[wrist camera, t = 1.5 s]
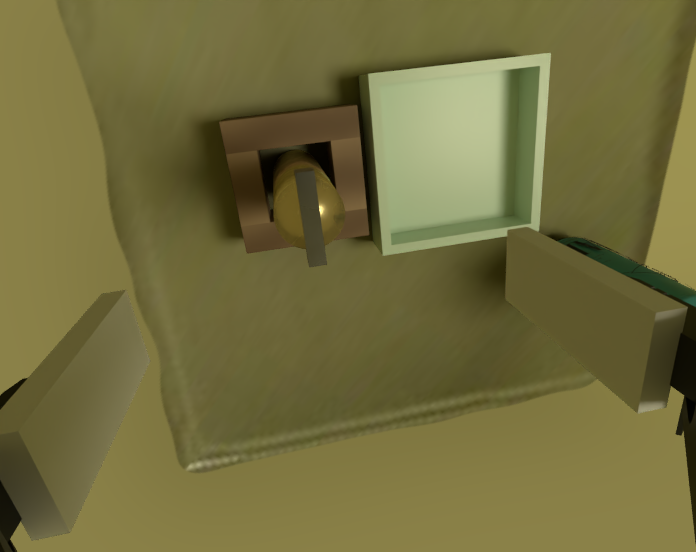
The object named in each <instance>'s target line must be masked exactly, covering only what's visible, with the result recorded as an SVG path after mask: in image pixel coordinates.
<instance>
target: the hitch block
mask: <svg viewBox="0 0 696 552" xmlns="http://www.w3.org/2000/svg"><path fill="white" fill-rule="evenodd" d="M219 124H220V129H221V134H222V138H223V143H224V148H225V152H226V157H227V162H228V167H229V171H230V176H231V181H232V186H233V190H234V195H235V200H236V205H237V209H238V214H239V219H240V223H241V228H242V233H243V238H244V242H245V247H246V252H247V253H254V252H261V251H267V250H274V249H280V248H287V247H293V245H291V244H290V243H288V242H287V241H286V240H284V239H283V238H282V236H281V235H280V234H279V232H278V230H277V228H276V226H275V222H274V210H270V205H269V200H268V194H267V189H266V183H265V178H264V172H263V167H262V161H261V156H260V150H264V149H272V148H280V147H287V146H295V145H303V144H310V143H318V142H326V149H327V157H328V165H329V173H330V181H331V183H332V185H333V186H334V187H335V189H336V190H337V192H338V193H339V195H340V197H341V198H342V200H343V203H344V207H345V221H344V225H343V228H342V230H341V232H340V233H339V234H338V236H337V237H336V238H335V239H334V240H339V239H346V238H352V237H359V236H365V235H369V227H368V216H367V205H366V195H365V184H364V173H363V162H362V151H361V141H360V130H359V119H358V108H357V105H351V104H346V105H338V106H330V107H321V108H313V109H305V110H297V111H288V112H280V113H272V114H264V115H255V116H247V117H239V118H231V119H224V120H222V121H220V122H219Z"/></svg>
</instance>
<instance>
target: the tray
mask: <svg viewBox="0 0 696 552" xmlns="http://www.w3.org/2000/svg"><path fill="white" fill-rule="evenodd" d="M550 59H551V53H545V54H537V55H528V56H519V57H510V58H502V59H493V60H484V61H475V62H467V63H458V64H449V65H441V66H432V67H423V68H414V69H406V70H397V71H388V72H379V73H371V74H365V75H361V76H358V78H359V89H360V100H361V112H362V123H363V134H364V145H365V156H366V168H367V179H368V190H369V201H370V212H371V223H372V235H373V242H374V243H375V245H376V246H377V248H378V249H379V251H380V252H381V254H382V255H383V256H384V255H391V254H397V253H403V252H410V251H416V250H422V249H429V248H435V247H441V246H448V245H454V244H460V243H467V242H473V241H479V240H486V239H492V238H498V237H505V236H507V230H509V229H516V228H522V227H529V228H531V229H533V230H535V231H539V223H540V208H541V193H542V178H543V163H544V148H545V133H546V118H547V103H548V88H549V74H550Z"/></svg>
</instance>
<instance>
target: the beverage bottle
mask: <svg viewBox="0 0 696 552" xmlns="http://www.w3.org/2000/svg"><path fill="white" fill-rule="evenodd" d="M589 241H590V240H588V241H587V240H585V238H584V239H583V238H573V237H572V238H565V239H561V240H559V241H557V242H559V243H561V244H563V245H565V246H567V247H569V248H571V249H573V250H575V251H577V252H579V253H581V254H583V255H585V256H587V257H589V258H591V259H593V260H595V261H597V262H599V263H601V264H603V265H605V266H607V267H609V268H611V269H613V270H615V271H617V272H619V273H621V274H623V275H626V276H629V277H633V278H637V279H640V280H642V281H644V282H646V283H648V284H650V285H652V286H654V287H655V289H656V288H658V289H660V290H662V291H664V292H666V293H667V295H672V296H674V297H676V298H679V299H681V300H683V301H685V302H687V303H689V304H691V305H693V306H695V307H696V291H695V290H693V289H690V288H688V287H686V286H684V285H682V284H680V283H678V281H677V280H676V279H675V280H676V281H677V282H676V281H675V280H672V279H670V278H668V277H665V276H663V275H662V274H661V273H660V274H659V273H657V272H654V271H652V270H650V269H648V268H647V266H646V267H644V266H642V265H644V264H642V265H639V264H638V263H635V262H636V261H631V260H629V259H626V258H624V257H622V256H620V255H618V254H616V253H618V252H616V251H614V252H616V253H614V252H611V251H610V250H611V249H610V250H607V249H605V248H607V247H605V246H603V245H601V246H603V247H605V248H602V247H600V246H599V245H600V244H599V245H596V244H594V243H595V242H594V241H591V242H589ZM592 242H594V243H592ZM597 244H598V243H597ZM608 249H609V248H608ZM612 251H613V250H612ZM619 254H620V253H619ZM626 257H627V256H626ZM668 276H669V275H668Z"/></svg>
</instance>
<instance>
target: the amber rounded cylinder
mask: <svg viewBox="0 0 696 552" xmlns="http://www.w3.org/2000/svg"><path fill="white" fill-rule="evenodd" d="M273 205H274V222H275V226H276V228H277V230H278V232H279V234H280V235H281V236H282V238H283V239H284V240H286V241H287V242H288V243H290V244H291V245H293V246H295V247H298V248H302V249H306V252H307V259H308V264H309V267H314V266H320V265H327V261H326V253H325V245H327V244H329V243H330V242H332V241H333V240H334V239H335V238H336V237H337V236H338V234H339V233H340V232H341V230H342V228H343V225H344V221H345V207H344V203H343V200H342V198H341V197H340V195H339V193H338V192H337V190H336V189H335V187H334V186H333V185H332V183H331V182H330V180H329V179H328V177H327V176H326V174H325V173H324V171H323V170H322V168H321V167H320V165H319V164H318V162H317V161H316V159H315V158H314V157H313V156H312V155H311V154H309V153H308V152H306V151H303V150H290V151H287V152H285V153H284V154H282V155H281V156H280V157H279V158H278V159H277V161H276V163H275V165H274V170H273Z"/></svg>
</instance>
